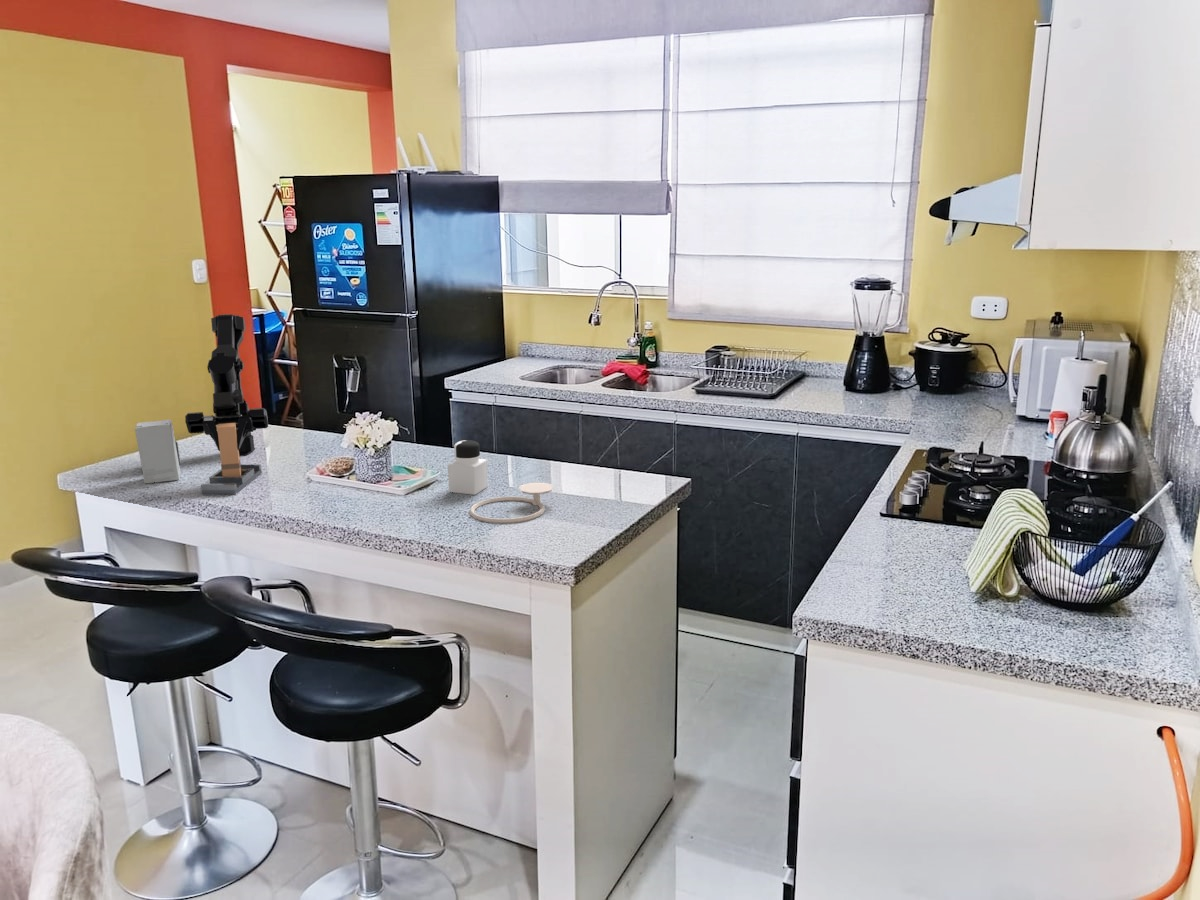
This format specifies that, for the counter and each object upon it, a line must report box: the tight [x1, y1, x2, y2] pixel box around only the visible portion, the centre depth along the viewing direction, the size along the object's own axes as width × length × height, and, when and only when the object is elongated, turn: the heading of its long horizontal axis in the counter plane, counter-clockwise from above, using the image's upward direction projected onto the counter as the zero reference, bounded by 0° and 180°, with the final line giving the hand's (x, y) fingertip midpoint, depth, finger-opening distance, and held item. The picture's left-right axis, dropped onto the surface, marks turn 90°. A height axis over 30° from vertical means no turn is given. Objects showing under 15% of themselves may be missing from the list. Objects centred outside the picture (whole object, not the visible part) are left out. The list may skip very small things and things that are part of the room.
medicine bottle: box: [447, 439, 489, 496], centre depth 220 cm, size 7×7×12 cm
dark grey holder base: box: [200, 464, 263, 495], centre depth 227 cm, size 8×18×3 cm, turn 0°
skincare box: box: [134, 419, 181, 484], centre depth 229 cm, size 8×6×15 cm
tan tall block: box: [216, 423, 242, 477], centre depth 225 cm, size 4×4×13 cm
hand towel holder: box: [469, 482, 555, 524], centre depth 207 cm, size 17×4×21 cm
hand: (228, 449), depth 224 cm, fingers closed on tan tall block, 4 cm apart
